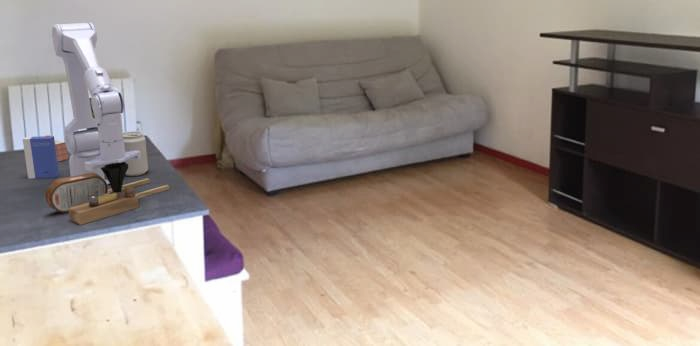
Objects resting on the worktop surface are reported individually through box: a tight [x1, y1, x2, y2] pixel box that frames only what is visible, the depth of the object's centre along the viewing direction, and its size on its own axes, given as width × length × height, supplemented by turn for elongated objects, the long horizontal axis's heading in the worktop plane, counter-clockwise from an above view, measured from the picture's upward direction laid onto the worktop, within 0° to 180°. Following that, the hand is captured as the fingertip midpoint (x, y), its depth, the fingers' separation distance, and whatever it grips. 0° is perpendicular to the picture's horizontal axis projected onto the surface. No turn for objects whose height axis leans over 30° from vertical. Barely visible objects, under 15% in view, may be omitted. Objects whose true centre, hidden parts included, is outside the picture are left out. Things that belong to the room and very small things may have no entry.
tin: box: [45, 173, 109, 213], centre depth 175 cm, size 15×3×8 cm, turn 133°
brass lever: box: [88, 192, 117, 206], centre depth 170 cm, size 7×2×2 cm, turn 144°
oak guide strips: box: [107, 178, 170, 199], centre depth 188 cm, size 10×15×1 cm, turn 140°
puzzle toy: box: [54, 139, 70, 163], centre depth 217 cm, size 6×6×6 cm
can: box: [123, 130, 149, 177], centre depth 202 cm, size 8×8×12 cm
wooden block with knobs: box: [68, 187, 140, 226], centre depth 171 cm, size 5×16×5 cm, turn 140°
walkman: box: [22, 134, 60, 180], centre depth 199 cm, size 8×3×12 cm, turn 96°
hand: (116, 191), depth 177 cm, fingers closed
